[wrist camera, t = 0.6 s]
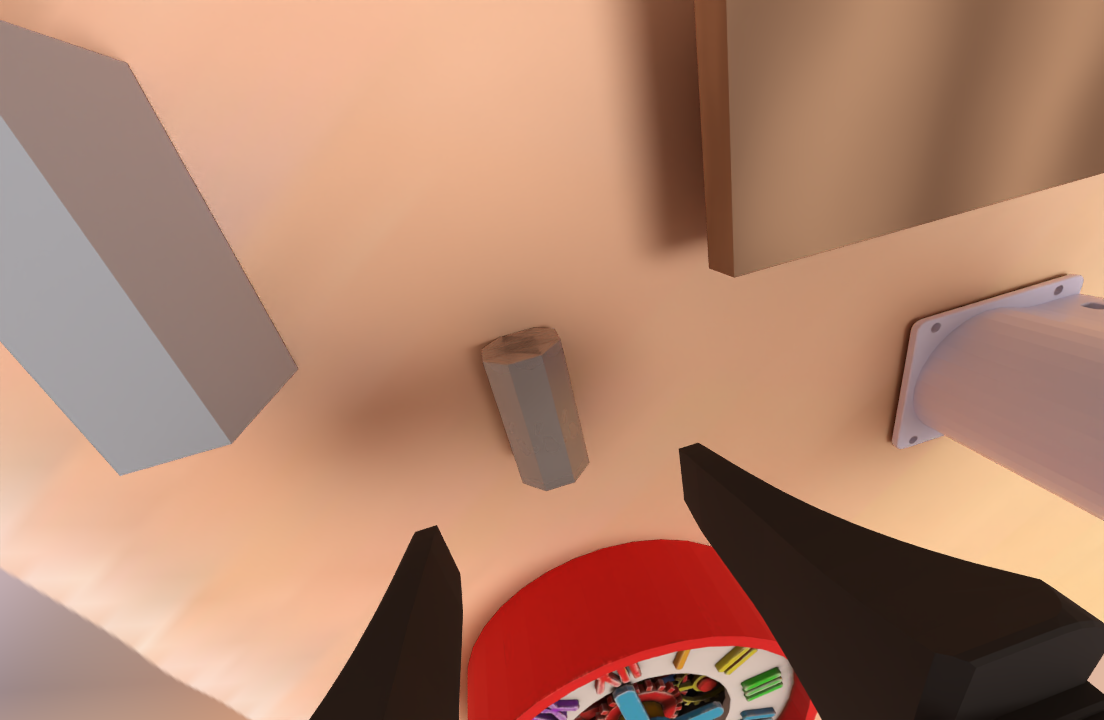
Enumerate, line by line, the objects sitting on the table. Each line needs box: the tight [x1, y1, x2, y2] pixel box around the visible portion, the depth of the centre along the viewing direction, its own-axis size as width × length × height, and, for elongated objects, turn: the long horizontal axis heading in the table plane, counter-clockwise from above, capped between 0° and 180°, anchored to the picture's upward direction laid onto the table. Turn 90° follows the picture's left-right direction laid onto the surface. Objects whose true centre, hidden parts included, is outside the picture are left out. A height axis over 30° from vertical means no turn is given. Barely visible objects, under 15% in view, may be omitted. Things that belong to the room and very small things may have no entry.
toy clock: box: [468, 539, 817, 720], centre depth 25 cm, size 20×6×20 cm
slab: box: [694, 0, 1104, 277], centre depth 12 cm, size 16×9×2 cm, turn 103°
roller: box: [482, 328, 589, 491], centre depth 17 cm, size 3×6×3 cm, turn 12°
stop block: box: [0, 20, 298, 476], centre depth 11 cm, size 3×10×5 cm, turn 13°
